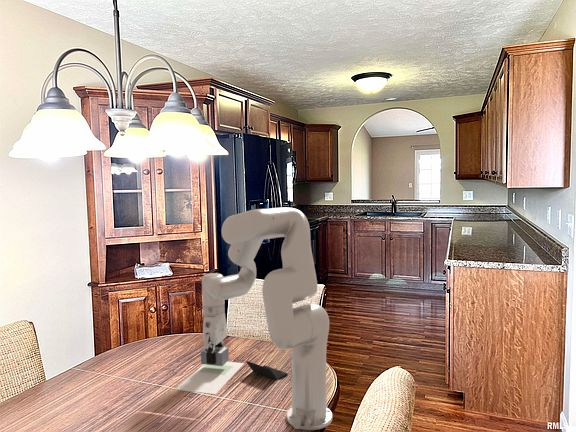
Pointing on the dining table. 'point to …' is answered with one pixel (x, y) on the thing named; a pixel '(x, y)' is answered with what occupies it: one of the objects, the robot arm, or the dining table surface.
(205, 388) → the mat
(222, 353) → the card box
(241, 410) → the dining table surface
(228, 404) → the dining table surface
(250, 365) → the handheld gaming console
